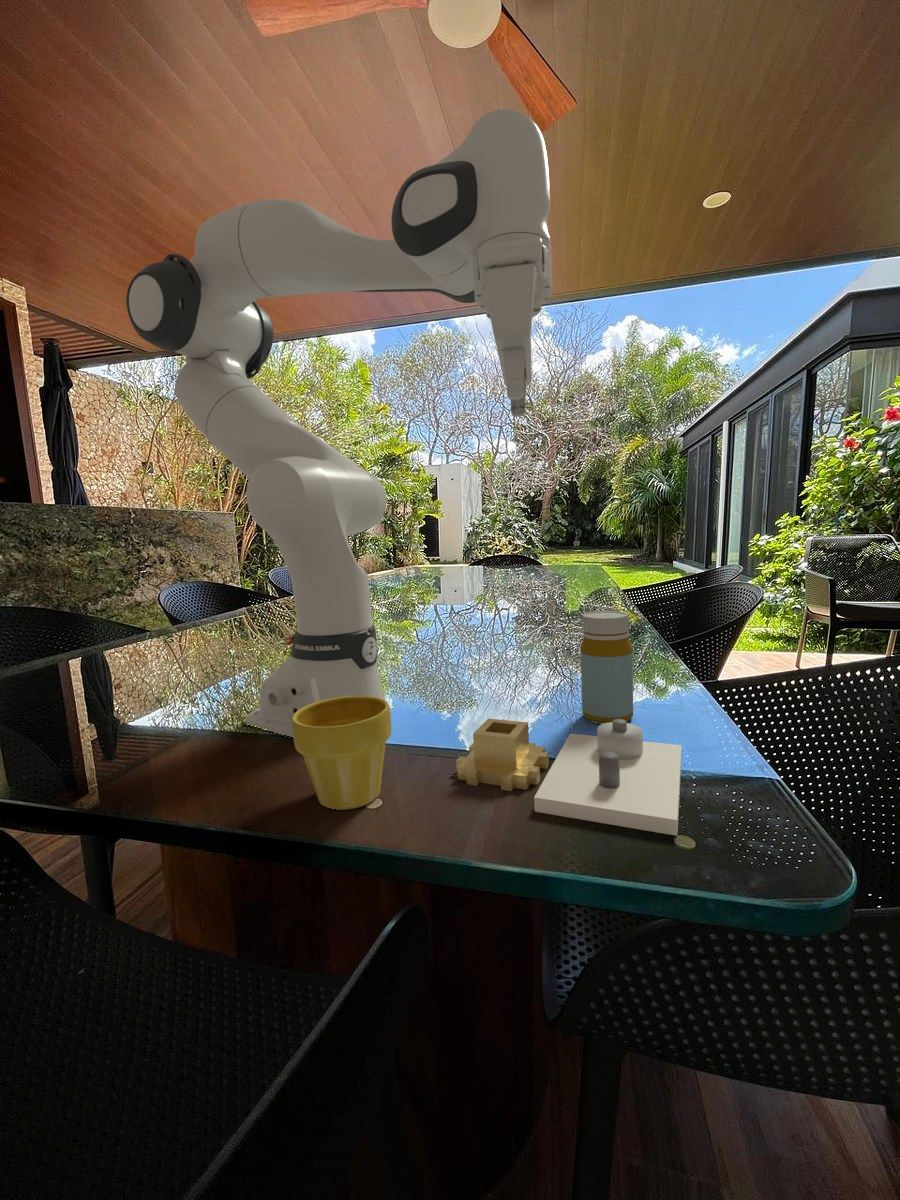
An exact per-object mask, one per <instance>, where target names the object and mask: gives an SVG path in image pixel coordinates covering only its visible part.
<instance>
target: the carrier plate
mask: <svg viewBox="0 0 900 1200" xmlns="http://www.w3.org/2000/svg"><path fill="white" fill-rule="evenodd" d="M596 734H597V735H589V734H579V733H578V734H577V733H569V735H568V737H567V738H566V740H565V742H564V744H563V746H562V747H561V749H560V751H559V752H558V754H557V755H556V758H555V760H554V761H553V763H552V765H551V767H550V768H549V770H548V771H547V774H546V775H545V778H544V779H543V781H542V783H541V784H540V786H539V788H538V790H537V791H536V793H535V795H534V797H533V799H534V800H533V802H534V812H536V813H542V814H547V815H553V816H559V817H563V818H564V817H565V818H570V819H577V820H583V821H588V822H593V823H599V824H605V825H613V826H618V827H623V828H629V829H636V830H641V831H645V832H646V831H647V832H652V833H653V832H654V833H658V834H664V835H671V836H677V837H678V831H679V815H680V814H679V812H680V811H679V809H680V797H679V796H681V795H680V791H681V778H680V777H682V760H681V758H682V755H683V753H682V751H683V750H682V747H683V745H682V744H674V743H673V744H672V743H665V742H664V743H663V742H653V741H644V738H643V736H644V734H643V729H642V728H641V727H640V726H638V725H635V724H634V723H633V724H632V723H630V722H629V723H628V722H627V721H625V720H622V719H615V720H613V721H612V722H610V723H605V724H599V726H598V727H597V728H596Z"/></svg>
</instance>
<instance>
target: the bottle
mask: <svg viewBox="0 0 900 1200" xmlns="http://www.w3.org/2000/svg"><path fill="white" fill-rule="evenodd" d="M629 619H630V616H629V613H627V612H624V611H617V610H616V611H614V610H600V611H591V612H586V613H583V615H582V629H583V631H582V633H583V639H582V641H581V644H580V674H581V683H580V684H581V709H582V715H583V716H584V717H585V718H586V719H587V721H589V720H590V721H589V722H591V721H593V722H597V723H603V724H604V723H610V722H612V721H613V720H615V719H622V720H625V721H628V720H629V721H630V720H631V718H633V716H634V677H633V676H634V672H633V671H634V669H633V667H634V666H633V665H634V660H633V645H632V644H631V640H630V638H629V637H630V634H629V629H630V627H629V626H630V621H629ZM629 721H628V722H629ZM593 722H592V723H593ZM597 723H596V724H597Z"/></svg>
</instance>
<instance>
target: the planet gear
mask: <svg viewBox="0 0 900 1200" xmlns="http://www.w3.org/2000/svg"><path fill="white" fill-rule="evenodd" d="M472 738H473V740H472V741H473V742H472V743H471V745H469V747H468V752H469V754H468V755H467V756H459V757H458V758H456V760H455V768H456V770H455V771H456V774H457V779H458V780H461V781H466V785H469V786H474V787H475V786H477V787H478V785H479V784H480V783H481V784H487V785H494V786H499V787H500V790H501V791H507V792H513V790H514V789H519V790H525V791H526V790H527V789H528V788H529V787H530V785H535V786H536V785H538V784H539V783H540V781H541V769H543V770H547V769H548V767H549V766H550V761H549V759H550V757H549V754H550V753H549V752H546V747H545V746H538V745H536V743H535V742H530V740H529V739H530V736H529V722H528V721H526V722H525V721H518V720H517V721H516V720H509V719H508V720H507V719H497V718H496V719H495V718H487V719H486V720H485V721H484V722H483V723H482V724H481V725H480V726H479V727H478V728H477V729H476V730H475V731H474V732H473V733H472Z"/></svg>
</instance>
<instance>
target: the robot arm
mask: <svg viewBox="0 0 900 1200" xmlns="http://www.w3.org/2000/svg"><path fill="white" fill-rule="evenodd" d="M550 191H551V190H550V174H549V163H548V155H547V149H546V144H545V140H544V136H543V134H542V132H541V130H540V128H539V127H538V125H537V124H536V123H535V122H534V120H533V119H531V118H530V117H529V116H527V115H525V114H524V113H522V112H519V111H516V110H511V109H496V110H492V111H489V112H486V113H484V114H483V115H481V116H480V117H479V118H477V119H476V121H475V122H474V123H473V125H472V127H471V129H470V130H469V132H468V134H467V135H466V137H465V138H464V140H462V142H461V143H460V144H459V145H458V146H457V147H456V148H455V149H454V150H452V152H450V153H449V154H447V155H446V156H445V157H444V158H442V159H440V160H439V161H438V162H437V163H435V164H433V165H430V166H429V165H428V166H425V167H422V168H420V169H418V170H416V171H415V172H413V173H412V174H411V175H409V176H408V178H406V179H405V181H404V182H403V183H402V184H401V186H400V187H399V190H398V191H397V194H396V196H395V198H394V201H393V205H392V211H391V232H392V236H393V238H391V239H379V238H377V239H376V238H374V237H373V238H371V237H369V236H365V235H362V234H360V233H357V232H356V231H354V230H351V229H350V228H347V227H346V226H344V225H342V224H340V223H339V222H337V221H335V220H334V219H332V218H330V217H329V216H327V215H326V214H324V213H323V212H321V211H319V210H317V208H314V206H311V205H309V204H307V203H305V202H303V201H299V200H292V199H284V198H268V199H261V200H257V201H252V202H246V203H244V204H240V205H237V206H233V207H232V208H229V209H225V210H224V211H222V212H220V213H218V214H215V215H213V216H212V217H210V218H208V219H207V220H205V221H204V222H203V223H202V224H201V225H200V226H199V228H198V230H197V231H196V232H197V233H196V235H195V240H194V255H193V256H192V258H190V259H187V257H185V256H183V255H181V254H178V253H169V254H167V255H166V256H165V257H164V259H163V260H162V261H159V262H155V263H154V262H153V263H150V264H148V265H147V266H145V267H144V268H142V269H141V270H140V271H139V272H138V273H136V274H135V275H134V277H133V278H132V279H131V280H130V283H129V285H128V288H127V292H126V310H127V315H128V317H129V320H130V323H131V326H132V327H133V329H134V331H135V332H136V334H137V335H138V336H140V337H141V339H143V340H145V341H146V342H147V343H149V344H151V345H153V346H155V347H157V348H159V349H160V350H163V351H165V352H174V353H177V354H178V355H179V354H180V355H183V356H184V359H185V365H184V366H183V367H182V368H181V369H180V371H179V372H178V374H177V376H176V380H175V385H174V390H175V396H176V399H177V401H178V403H179V405H180V406H181V407H182V409H183V410H184V412H185V415H187V417H188V418H189V419H190V420H191V422H192V423H193V424H194V426H195V427H196V428H197V429H198V431H200V432H201V434H203V436H204V437H205V438H206V439H207V440H208V441H209V442H210V443H211V444H212V445H213V446H214V447H215V448H217V450H218V451H219V452H221V454H222V455H224V457H226V459H228V460H229V461H230V462H231V463H232V464H233V465H234V466H235V468H237V469H238V470H239V471H240V472H241V473H242V474H243V475H244V476H246V477H247V478H249V479H248V481H247V485H246V494H245V495H246V497H245V498H246V505H247V507H248V511H249V513H250V516H251V517H252V519H253V520H254V522H255V523H256V525H258V526H259V527H260V529H262V530H263V531H264V532H266V533H267V534H268V536H270V538H271V539H272V540H273V542H274V544H275V545H276V547H277V549H278V551H279V553H280V554H281V557H282V559H283V561H284V564H285V566H286V568H287V572H288V574H289V577H290V581H291V586H292V591H293V599H294V600H293V601H294V609H295V616H296V617H295V619H296V625H297V631H296V632H295V633H294V634H293V635H291V636H288V637H287V636H286V637H284V638H283V641H285V640H289V641H286V642H285V643H284V644H283V645H284V646H285V647H286V646H288V645H291V649H290V654H289V655H290V656H289V657H288V658H287V659H286V660H285V661H284V662H283V663H282V664H281V665H280V666H279V667H278V668H276V669H275V670H274V671H273V672H272V673H271V674H270V675H269V676H268V677H266V679H264V681H263V682H262V684H261V686H260V691H259V707H258V708H256V709H254V710H253V711H251V712H250V713H249V714H248V715H246V716H245V719H244V721H245V722H246V723H249V724H252V725H255V726H257V727H260V728H264V729H267V730H269V731H273V732H275V733H274V734H276V733H278V734H277V735H279V734H283V735H287V736H290V737H293V730H292V716H293V715H294V713H295V712H296V711H298V710H299V709H301V708H303V707H305V706H307V705H309V704H312V703H315V702H318V701H322V700H326V699H331V698H337V697H344V696H372V697H378V698H381V699H384V700H385V701H387V700H386V698H385V694H384V692H383V688H382V684H381V679H380V674H379V669H378V662H377V660H378V642H377V633H376V632H377V631H376V626H375V625H374V624H373V619H372V616H373V615H372V608H371V607H372V605H371V592H370V579H369V576H368V574H367V572H366V570H365V569H364V568H363V567H362V566H361V565H360V564H359V563H358V561H357V560H356V557H355V555H354V553H353V551H352V547H351V545H350V542H349V539H348V536H353V535H358V534H360V533H362V532H364V531H366V530H369V529H370V528H373V527H374V526H376V525H377V524H378V523H379V522H380V521H381V520H382V519H383V516H384V514H385V513H386V509H387V502H388V499H387V493H386V490H385V489H386V488H385V487H384V484H383V483H382V482H381V481H380V479H379V478H378V477H377V476H375V475H373V474H372V473H371V472H369V471H367V470H366V469H365V468H363V467H361V466H359V465H358V464H356V463H355V462H354V461H352V460H351V459H350V458H348V457H347V456H345V455H344V454H343V453H342V452H340V451H339V450H337V449H336V448H335V447H333V446H332V445H330V444H328V443H327V442H325V440H323V439H322V438H320V437H318V436H317V435H315V434H314V433H312V432H311V431H309V430H308V429H307V428H305V427H303V426H302V425H301V424H300V423H298V422H297V421H296V420H295V419H293V418H292V417H291V416H290V415H288V413H287V412H285V411H284V409H282V408H281V407H280V406H279V405H278V404H276V403H275V402H274V401H273V400H272V399H271V398H270V397H268V395H267V394H265V393H264V392H263V391H262V390H261V389H260V388H259V387H258V386H257V385H255V384H254V383H253V382H252V381H251V380H250V379H252V378H254V377H255V376H256V375H258V373H260V371H261V369H262V366H263V365H264V364H265V362H266V361H267V359H268V358H269V356H270V352H271V350H272V347H273V344H274V326H273V322H272V320H271V317H270V315H269V314H268V312H266V310H265V309H264V308H263V307H262V306H261V305H260V304H258V303H257V302H256V301H258V300H261V299H262V298H266V299H267V298H279V297H280V298H281V297H290V296H301V295H311V294H312V295H314V294H315V295H316V294H324V293H325V294H326V293H329V294H330V293H351V292H354V293H355V292H356V293H360V292H361V293H402V292H403V293H405V292H406V293H407V292H409V293H411V292H416V293H417V292H418V293H419V292H425V293H426V292H429V293H438V294H440V295H443V296H446V297H448V298H449V299H451V300H454V301H455V302H457V303H462V304H473V303H476V305H477V306H479V307H480V308H481V309H484V310H485V315H486V317H487V318H488V319H489V320H490V323H491V328H492V334H493V338H494V341H495V345H496V349H497V350H496V351H497V355H498V359H499V363H500V364H499V365H500V368H501V373H502V377H503V382H504V385H505V386H506V395H507V398H508V399H509V401H510V413H511V416H512V417H513V418H514V417H523V416H525V415H526V394H527V386H529V385H530V384H531V383H532V379H533V378H532V377H533V375H532V373H533V372H532V371H533V370H532V368H533V367H532V334H531V333H532V324H533V318H535V317H537V316H538V315H539V314H540V313H541V311H542V308H543V307H542V304H543V303H544V302H546V301H548V299H549V298H550V297H551V296H552V293H553V264H552V263H553V262H552V261H553V260H552V242H551V236H550V234H549V230H548V219H549V214H550V209H551V194H550ZM245 722H244V723H245ZM269 731H268V732H269ZM283 735H282V736H283ZM287 736H286V737H287ZM290 737H289V738H290Z"/></svg>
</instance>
